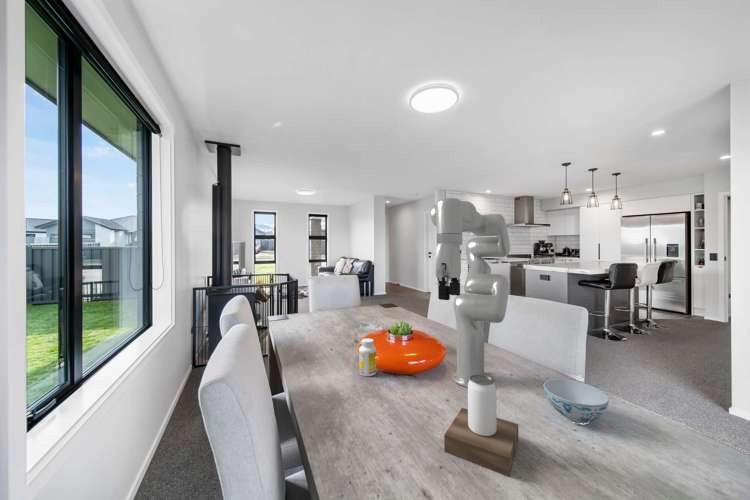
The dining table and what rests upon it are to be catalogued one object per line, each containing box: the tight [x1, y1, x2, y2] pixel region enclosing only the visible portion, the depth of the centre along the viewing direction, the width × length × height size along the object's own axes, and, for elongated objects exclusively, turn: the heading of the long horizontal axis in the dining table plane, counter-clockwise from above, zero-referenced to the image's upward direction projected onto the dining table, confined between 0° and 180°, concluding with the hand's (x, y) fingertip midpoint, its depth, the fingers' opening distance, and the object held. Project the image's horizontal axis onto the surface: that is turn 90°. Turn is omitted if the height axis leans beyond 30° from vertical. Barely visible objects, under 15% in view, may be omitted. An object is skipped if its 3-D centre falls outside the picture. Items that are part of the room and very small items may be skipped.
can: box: [467, 374, 497, 436], centre depth 70 cm, size 6×6×12 cm
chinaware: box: [543, 378, 610, 424], centre depth 81 cm, size 15×15×8 cm
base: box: [443, 407, 519, 478], centre depth 70 cm, size 14×14×4 cm
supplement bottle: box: [358, 338, 378, 377], centre depth 112 cm, size 7×7×13 cm
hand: (449, 297), depth 86 cm, fingers open, 9 cm apart
